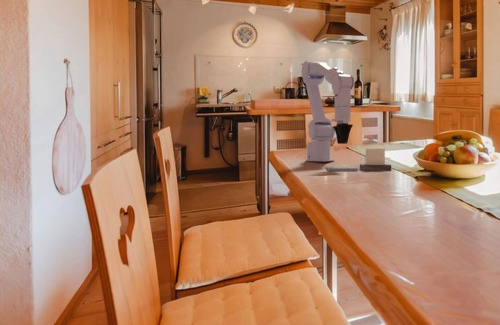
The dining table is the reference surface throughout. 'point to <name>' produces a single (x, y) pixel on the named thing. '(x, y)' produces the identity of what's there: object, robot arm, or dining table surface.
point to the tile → (341, 168)
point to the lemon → (421, 154)
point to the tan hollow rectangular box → (375, 167)
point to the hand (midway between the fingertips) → (342, 143)
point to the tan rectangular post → (375, 156)
